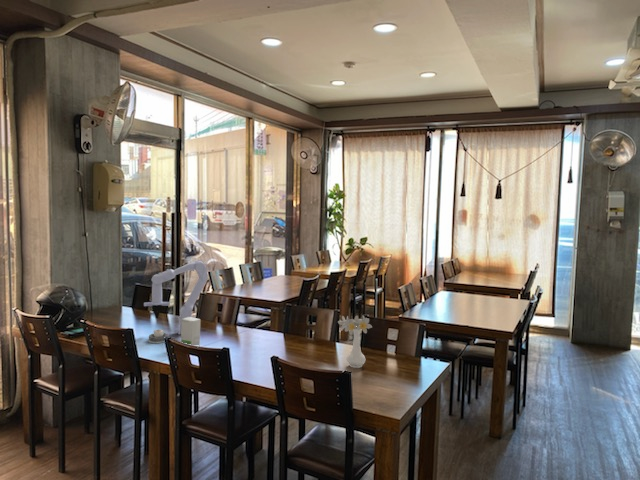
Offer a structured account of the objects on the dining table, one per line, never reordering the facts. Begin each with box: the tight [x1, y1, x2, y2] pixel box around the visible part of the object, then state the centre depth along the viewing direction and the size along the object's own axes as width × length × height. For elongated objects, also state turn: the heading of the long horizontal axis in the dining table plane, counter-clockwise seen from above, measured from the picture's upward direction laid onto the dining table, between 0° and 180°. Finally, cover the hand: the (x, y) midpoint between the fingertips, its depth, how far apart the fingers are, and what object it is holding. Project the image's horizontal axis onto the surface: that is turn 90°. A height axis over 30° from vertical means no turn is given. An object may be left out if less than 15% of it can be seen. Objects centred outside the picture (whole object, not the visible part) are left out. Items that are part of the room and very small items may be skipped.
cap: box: [153, 329, 165, 337], centre depth 273 cm, size 5×5×5 cm
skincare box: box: [180, 317, 201, 347], centre depth 262 cm, size 8×7×16 cm
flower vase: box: [337, 315, 373, 369], centre depth 237 cm, size 13×18×25 cm
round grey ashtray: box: [147, 333, 169, 344], centre depth 273 cm, size 11×11×3 cm
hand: (157, 318), depth 285 cm, fingers closed
